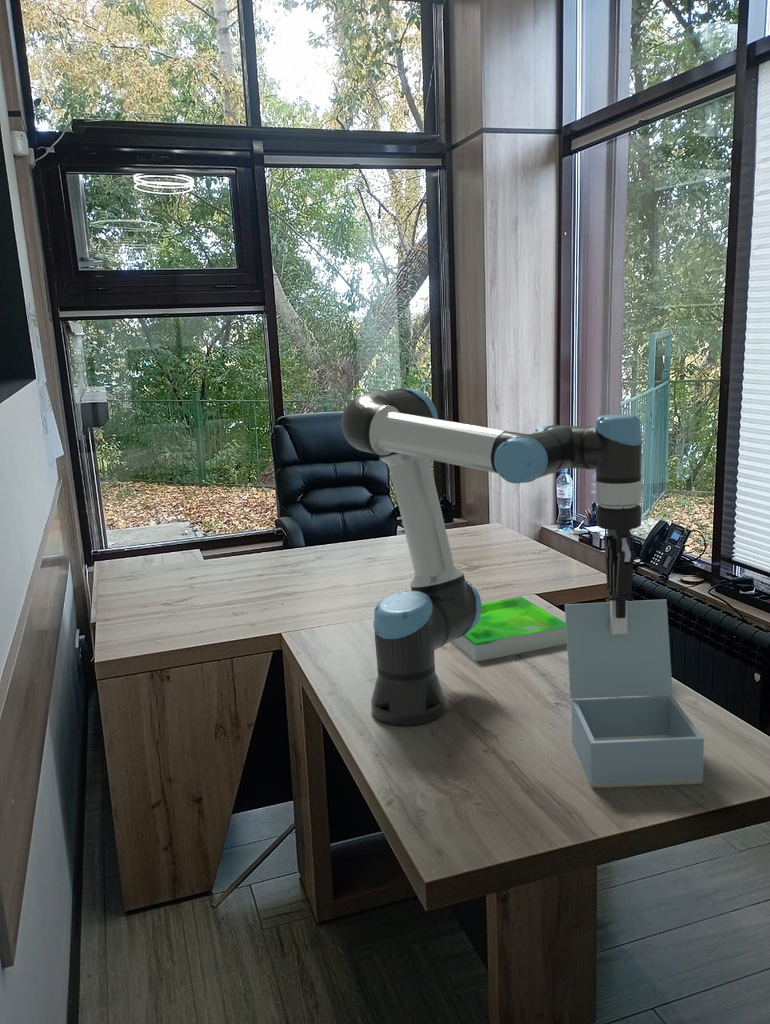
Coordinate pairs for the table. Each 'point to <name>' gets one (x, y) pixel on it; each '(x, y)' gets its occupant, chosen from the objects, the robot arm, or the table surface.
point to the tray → (511, 630)
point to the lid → (618, 651)
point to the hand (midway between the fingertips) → (618, 632)
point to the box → (636, 742)
